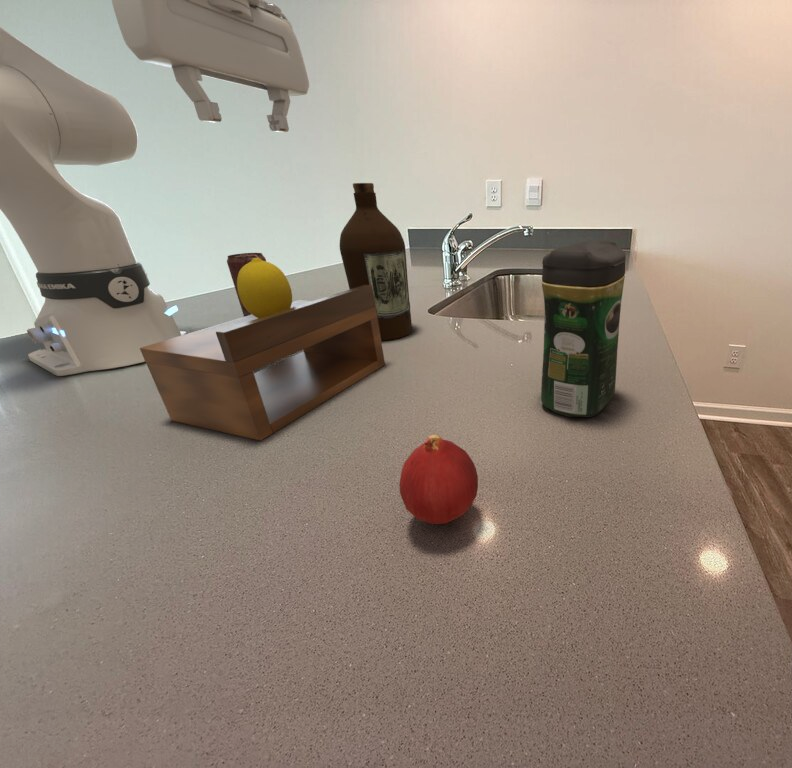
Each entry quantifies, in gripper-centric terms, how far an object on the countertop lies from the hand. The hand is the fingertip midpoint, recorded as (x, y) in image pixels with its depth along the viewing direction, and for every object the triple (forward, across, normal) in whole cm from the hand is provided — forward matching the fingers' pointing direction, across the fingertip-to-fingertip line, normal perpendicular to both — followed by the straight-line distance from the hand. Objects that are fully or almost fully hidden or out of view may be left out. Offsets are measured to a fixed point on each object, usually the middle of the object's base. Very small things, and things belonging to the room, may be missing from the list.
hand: (248, 127), depth 49 cm
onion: (+31, +23, +36) cm, 53 cm away
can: (+31, -12, -22) cm, 40 cm away
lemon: (+22, +8, +5) cm, 24 cm away
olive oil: (+31, -16, +3) cm, 35 cm away
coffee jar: (+31, 0, +42) cm, 52 cm away
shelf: (+31, +8, +5) cm, 32 cm away
